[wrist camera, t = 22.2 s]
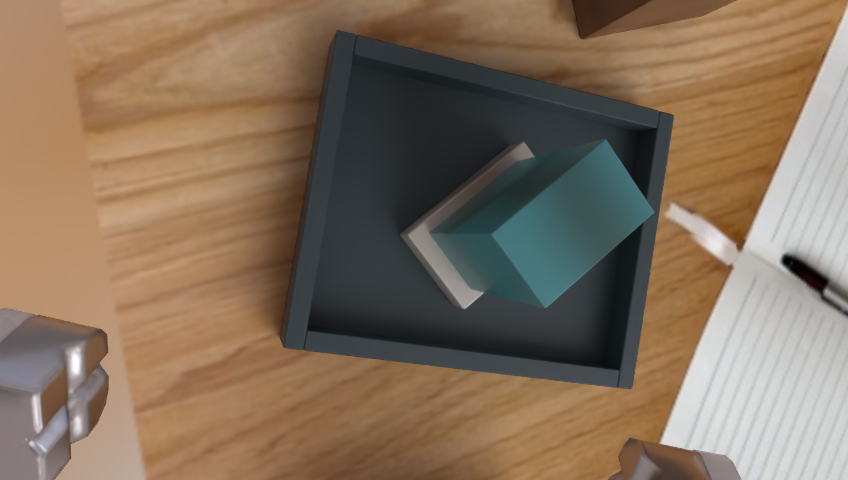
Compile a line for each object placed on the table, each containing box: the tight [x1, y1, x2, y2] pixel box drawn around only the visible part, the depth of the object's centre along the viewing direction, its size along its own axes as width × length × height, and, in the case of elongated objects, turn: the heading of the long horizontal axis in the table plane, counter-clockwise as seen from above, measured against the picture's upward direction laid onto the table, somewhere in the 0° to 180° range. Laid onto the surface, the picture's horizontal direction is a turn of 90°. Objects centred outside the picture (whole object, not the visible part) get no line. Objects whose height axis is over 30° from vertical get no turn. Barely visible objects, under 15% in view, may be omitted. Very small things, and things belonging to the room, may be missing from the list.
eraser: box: [400, 139, 654, 309], centre depth 25 cm, size 6×4×8 cm, turn 128°
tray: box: [280, 30, 674, 389], centre depth 29 cm, size 16×13×2 cm
